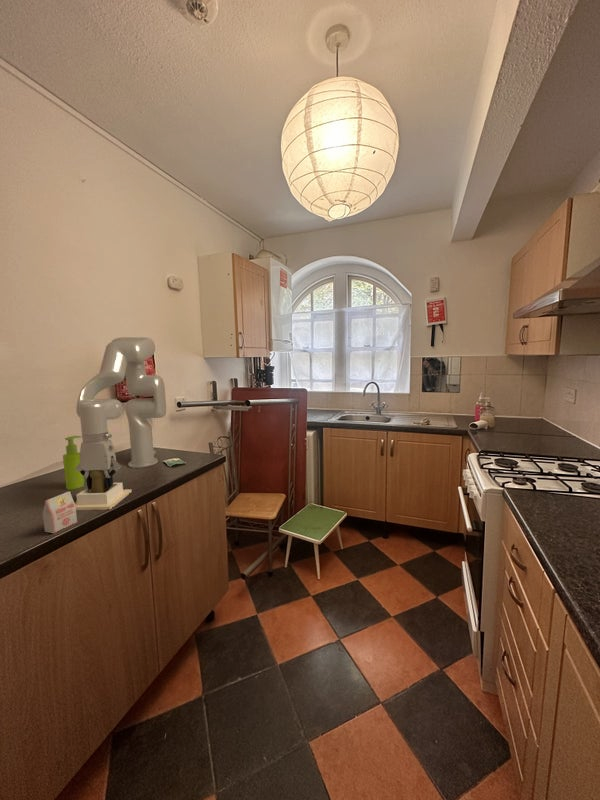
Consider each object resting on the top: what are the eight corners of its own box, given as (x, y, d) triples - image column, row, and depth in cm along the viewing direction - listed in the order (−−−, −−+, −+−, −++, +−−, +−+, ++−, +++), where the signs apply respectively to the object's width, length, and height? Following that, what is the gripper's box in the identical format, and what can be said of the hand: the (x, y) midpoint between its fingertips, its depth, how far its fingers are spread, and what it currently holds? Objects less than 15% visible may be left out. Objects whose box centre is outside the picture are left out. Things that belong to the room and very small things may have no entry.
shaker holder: (93, 492, 117) (92, 481, 117) (131, 491, 118) (130, 480, 117) (67, 510, 104) (66, 497, 103) (110, 509, 104) (108, 496, 103)
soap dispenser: (90, 484, 126) (85, 435, 123) (72, 490, 120) (66, 439, 117) (81, 481, 128) (76, 434, 126) (63, 488, 122) (57, 438, 120)
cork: (101, 502, 107) (98, 471, 106) (86, 500, 108) (83, 470, 107) (114, 494, 113) (112, 465, 112) (100, 493, 114) (97, 464, 113)
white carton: (44, 532, 90) (40, 499, 89) (68, 521, 97) (65, 490, 95) (53, 534, 89) (50, 501, 88) (77, 523, 95) (73, 491, 94)
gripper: (126, 434, 112) (130, 483, 114) (77, 435, 111) (82, 484, 114) (114, 440, 104) (119, 491, 107) (62, 440, 104) (68, 492, 106)
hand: (100, 487), depth 110 cm, fingers open, 5 cm apart
